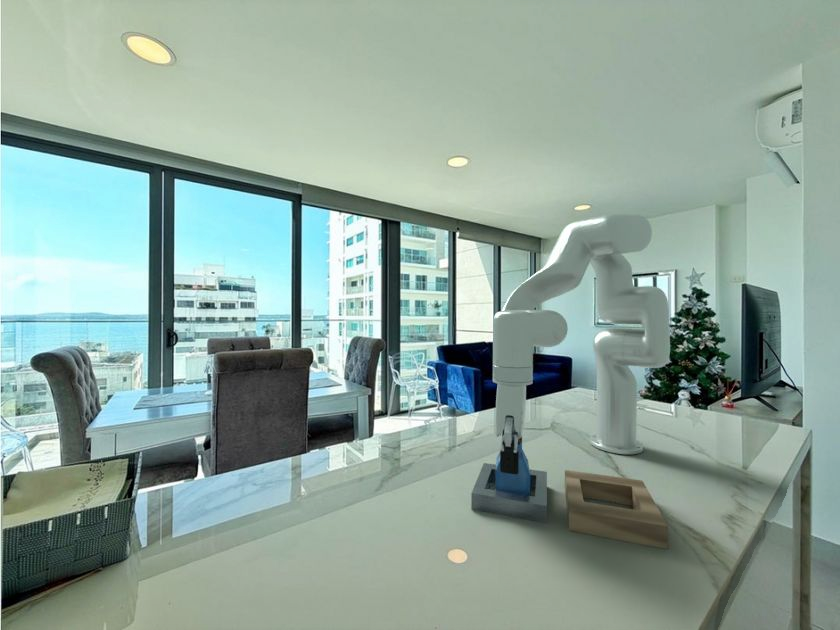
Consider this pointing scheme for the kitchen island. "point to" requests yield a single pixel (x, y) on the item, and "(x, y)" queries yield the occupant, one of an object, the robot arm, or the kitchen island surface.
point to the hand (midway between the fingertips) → (511, 462)
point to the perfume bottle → (514, 475)
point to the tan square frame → (614, 509)
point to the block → (510, 496)
